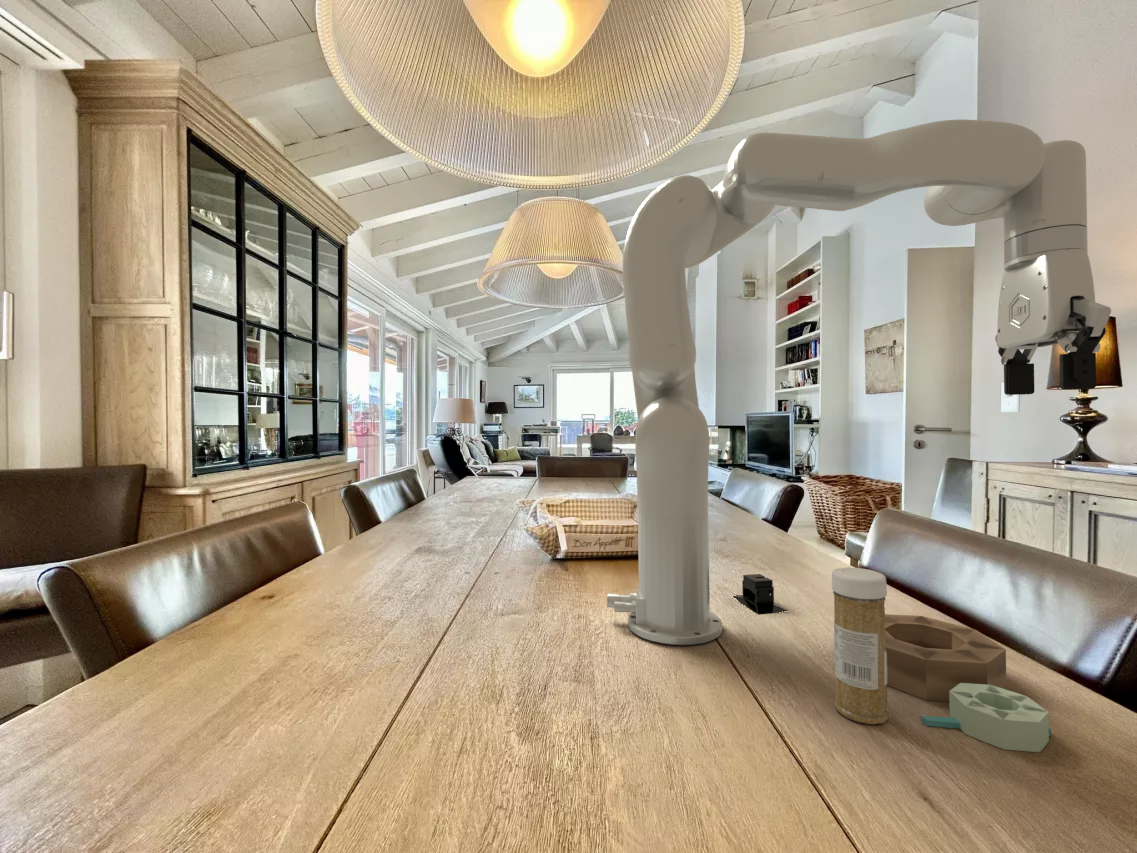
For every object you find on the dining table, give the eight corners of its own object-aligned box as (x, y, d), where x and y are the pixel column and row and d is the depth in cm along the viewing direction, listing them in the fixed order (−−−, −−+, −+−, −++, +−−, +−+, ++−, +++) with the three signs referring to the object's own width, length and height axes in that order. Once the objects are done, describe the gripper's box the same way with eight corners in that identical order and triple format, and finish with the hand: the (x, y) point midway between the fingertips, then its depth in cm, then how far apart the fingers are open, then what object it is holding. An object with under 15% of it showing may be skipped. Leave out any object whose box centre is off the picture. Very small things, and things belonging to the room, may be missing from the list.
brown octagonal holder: (885, 696, 53) (884, 657, 53) (841, 644, 65) (840, 612, 65) (1032, 707, 50) (1031, 666, 50) (956, 650, 63) (956, 617, 63)
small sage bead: (978, 747, 44) (978, 717, 44) (939, 707, 51) (938, 681, 51) (1065, 754, 43) (1065, 724, 43) (1014, 712, 49) (1013, 686, 49)
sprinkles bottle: (897, 716, 49) (895, 573, 49) (873, 732, 47) (870, 582, 47) (849, 695, 53) (847, 563, 53) (824, 709, 50) (822, 570, 50)
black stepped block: (803, 619, 75) (802, 587, 75) (757, 623, 74) (756, 591, 74) (757, 592, 88) (756, 565, 88) (717, 596, 86) (716, 568, 86)
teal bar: (925, 725, 47) (925, 720, 47) (921, 720, 48) (921, 715, 48) (1051, 735, 46) (1051, 729, 46) (1045, 730, 46) (1045, 724, 46)
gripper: (968, 274, 73) (970, 396, 73) (1062, 227, 56) (1065, 387, 56) (1029, 270, 71) (1031, 395, 71) (1145, 222, 54) (1147, 385, 54)
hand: (1046, 391), depth 64 cm, fingers open, 9 cm apart
